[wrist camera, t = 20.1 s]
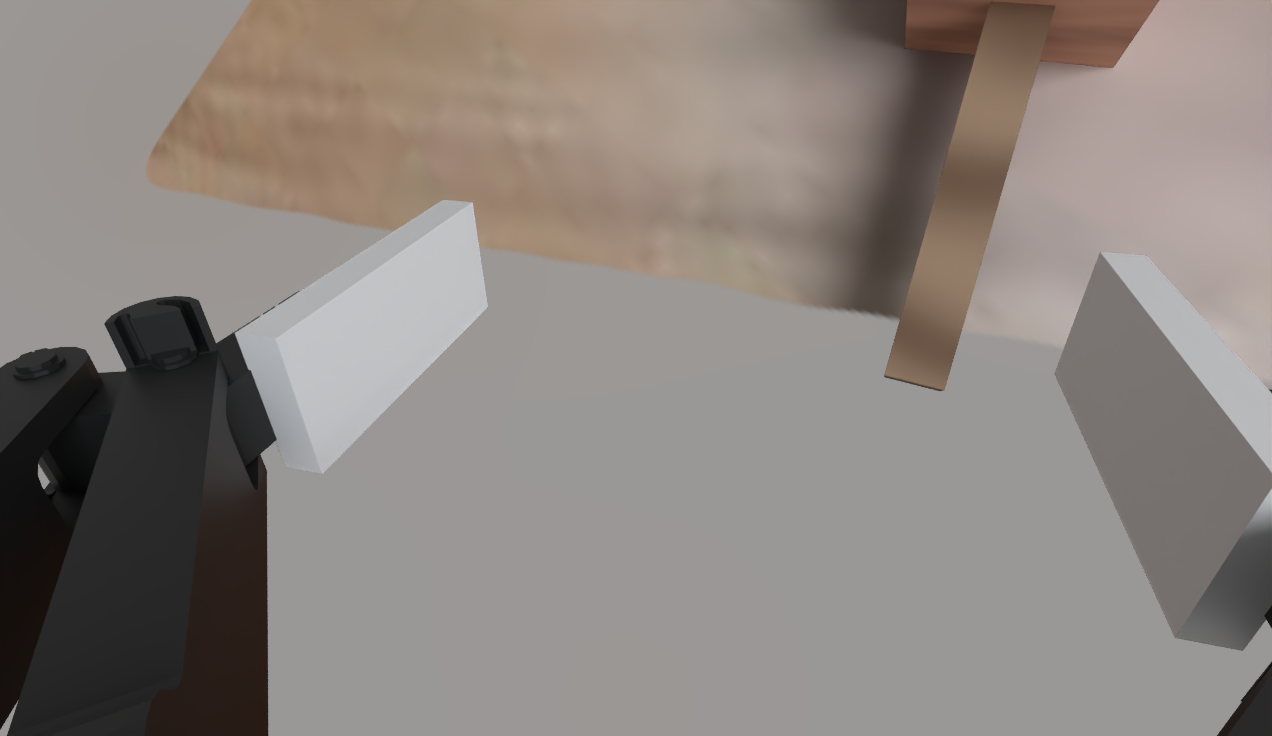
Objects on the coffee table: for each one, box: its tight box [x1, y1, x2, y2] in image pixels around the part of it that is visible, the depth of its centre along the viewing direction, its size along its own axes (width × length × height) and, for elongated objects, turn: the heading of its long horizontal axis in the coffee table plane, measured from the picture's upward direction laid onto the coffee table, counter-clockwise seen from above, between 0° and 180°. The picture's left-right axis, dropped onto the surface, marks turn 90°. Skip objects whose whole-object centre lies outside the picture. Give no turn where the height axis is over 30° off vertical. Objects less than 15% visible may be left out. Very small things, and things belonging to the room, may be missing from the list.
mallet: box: [884, 0, 1159, 391], centre depth 29 cm, size 23×9×7 cm, turn 164°
